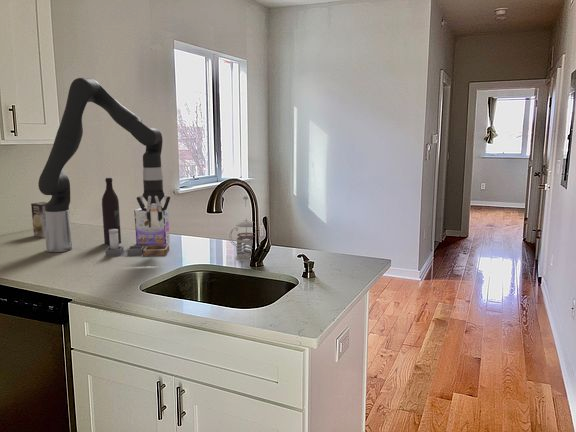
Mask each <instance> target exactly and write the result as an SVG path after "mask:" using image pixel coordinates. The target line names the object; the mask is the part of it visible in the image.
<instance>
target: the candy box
mask: <svg viewBox="0 0 576 432" xmlns="http://www.w3.org/2000/svg"><path fill="white" fill-rule="evenodd" d="M133 212H134V225H135V239H136V240H135V242H136V245H169V243H171V240H170V222H169V220H170V219H169V208H168V207H167V209H166V210H164V211H162V216H163V218H162V220H161V221H159V225H160V229H157V230H152V229H151V221H149V220H147V212H146V211H142V209H141V207H139V208H136V209H134V210H133Z"/></svg>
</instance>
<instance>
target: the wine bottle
mask: <svg viewBox="0 0 576 432" xmlns="http://www.w3.org/2000/svg"><path fill="white" fill-rule="evenodd" d="M104 181H105V185H106V186H105V190H104V192H103V195H102V198H101V208H102V224H103V225H102V226H103V239H104V241H103V242H104V245H107V246H108V245H109V246H110V238H109V230H110V229H118V240H119V245H120V244H122V235H121V219H120V218H121V217H120V216H121V215H120V203H119V197H118V195H117V192H115V190H114V186H113V178H112V177H106V178H105V180H104Z"/></svg>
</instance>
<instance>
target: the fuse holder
mask: <svg viewBox="0 0 576 432" xmlns="http://www.w3.org/2000/svg"><path fill="white" fill-rule="evenodd" d="M145 247H146V245H130V246H129V247H128V248H126V250H125V249H124V246H123V245H122V246H121V245H119V249H114V250H110V246H108V247H107V248H105V256H104V257H105V258H110V257H113V258H114V257H142V256H143V250H144V248H145Z"/></svg>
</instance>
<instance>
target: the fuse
mask: <svg viewBox="0 0 576 432" xmlns="http://www.w3.org/2000/svg"><path fill="white" fill-rule="evenodd" d="M109 238H110V245H109V247H110V250H114V249H119V246H120V244H119V240H118V229H110V230H109Z"/></svg>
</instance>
